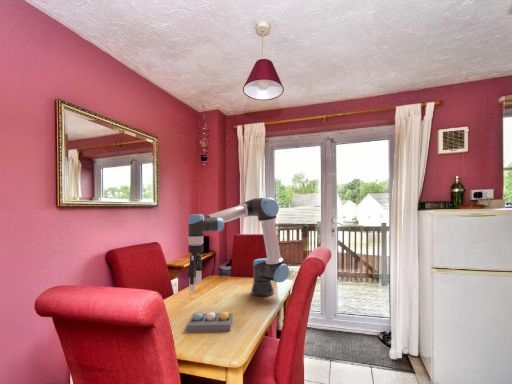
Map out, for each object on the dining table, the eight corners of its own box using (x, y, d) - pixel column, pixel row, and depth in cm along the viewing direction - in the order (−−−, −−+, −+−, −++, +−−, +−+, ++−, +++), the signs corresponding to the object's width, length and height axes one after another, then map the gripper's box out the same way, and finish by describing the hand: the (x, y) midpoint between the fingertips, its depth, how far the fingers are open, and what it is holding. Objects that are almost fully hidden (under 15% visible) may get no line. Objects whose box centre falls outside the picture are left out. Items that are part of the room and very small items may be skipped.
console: (232, 318, 138) (232, 312, 138) (230, 331, 124) (229, 324, 125) (193, 319, 138) (193, 313, 138) (187, 332, 124) (187, 325, 124)
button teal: (203, 317, 134) (202, 312, 134) (201, 321, 129) (201, 315, 129) (194, 318, 133) (194, 312, 134) (192, 321, 129) (192, 315, 129)
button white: (216, 317, 134) (215, 311, 134) (214, 321, 129) (214, 315, 129) (207, 317, 134) (207, 312, 134) (205, 321, 129) (205, 315, 129)
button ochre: (229, 317, 134) (228, 311, 134) (228, 320, 129) (228, 314, 129) (220, 317, 134) (220, 311, 134) (219, 321, 129) (219, 315, 129)
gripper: (194, 241, 149) (194, 280, 147) (181, 247, 124) (181, 294, 122) (207, 241, 149) (207, 280, 147) (197, 247, 124) (197, 294, 122)
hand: (195, 287), depth 135 cm, fingers open, 13 cm apart
